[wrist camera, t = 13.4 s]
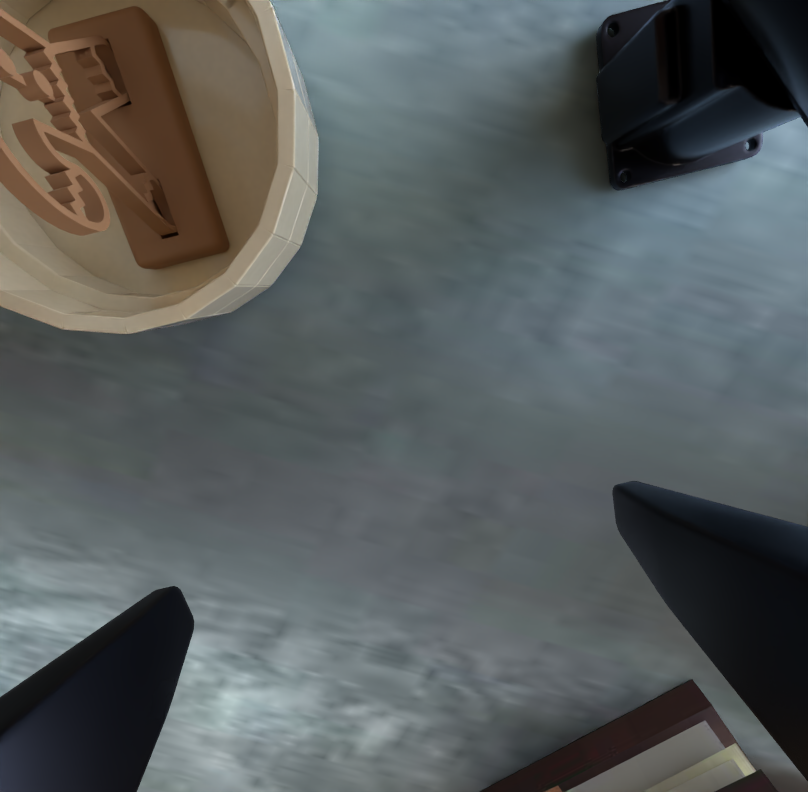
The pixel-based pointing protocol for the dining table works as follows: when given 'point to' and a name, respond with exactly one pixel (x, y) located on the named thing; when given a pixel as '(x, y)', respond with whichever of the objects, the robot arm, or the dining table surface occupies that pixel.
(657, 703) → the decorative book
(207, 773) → the dining table surface
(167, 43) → the bowl
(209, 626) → the dining table surface
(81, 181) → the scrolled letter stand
